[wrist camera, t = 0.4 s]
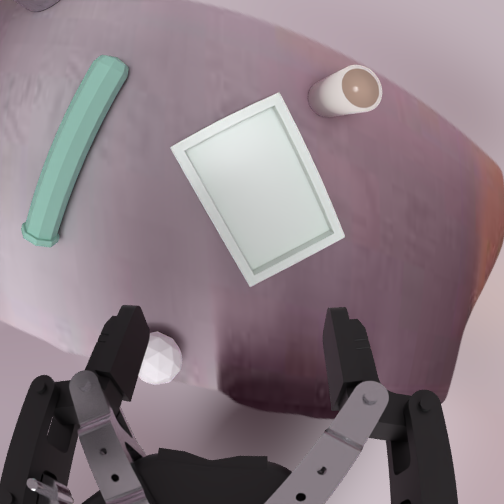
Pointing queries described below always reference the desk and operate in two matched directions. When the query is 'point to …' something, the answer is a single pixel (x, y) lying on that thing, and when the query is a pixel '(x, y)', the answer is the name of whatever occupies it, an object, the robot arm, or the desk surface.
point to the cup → (346, 92)
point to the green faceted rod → (72, 148)
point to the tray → (260, 188)
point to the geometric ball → (160, 360)
